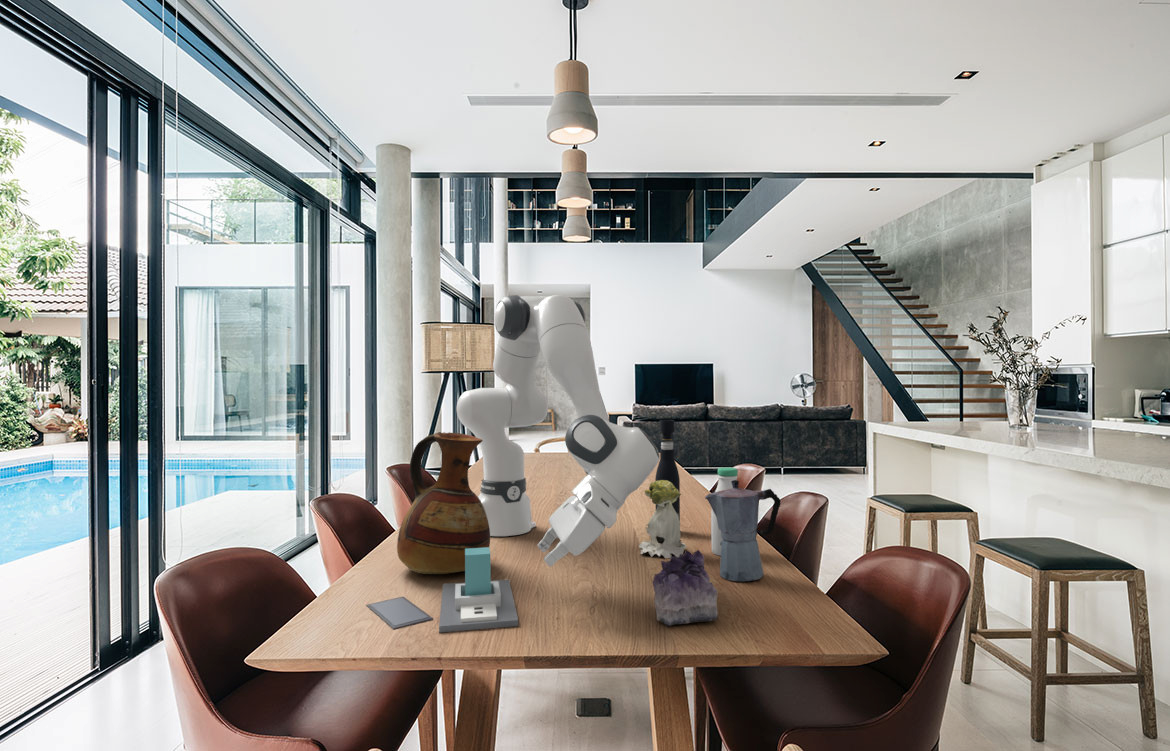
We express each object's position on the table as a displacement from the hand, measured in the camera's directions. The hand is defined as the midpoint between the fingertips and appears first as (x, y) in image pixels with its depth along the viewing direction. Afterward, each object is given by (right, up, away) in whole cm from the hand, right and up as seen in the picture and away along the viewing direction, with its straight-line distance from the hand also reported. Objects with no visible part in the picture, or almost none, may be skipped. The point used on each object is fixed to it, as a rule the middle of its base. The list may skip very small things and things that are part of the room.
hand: (543, 556), depth 119 cm
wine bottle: (+30, -8, +51) cm, 60 cm away
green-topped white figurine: (+26, -8, +33) cm, 43 cm away
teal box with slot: (-12, -8, -2) cm, 14 cm away
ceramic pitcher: (-23, -9, +20) cm, 32 cm away
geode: (+26, -9, -4) cm, 27 cm away
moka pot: (+41, -8, +14) cm, 44 cm away
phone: (-25, -9, -5) cm, 28 cm away
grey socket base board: (-12, -9, -2) cm, 15 cm away
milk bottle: (+42, -8, +31) cm, 53 cm away
